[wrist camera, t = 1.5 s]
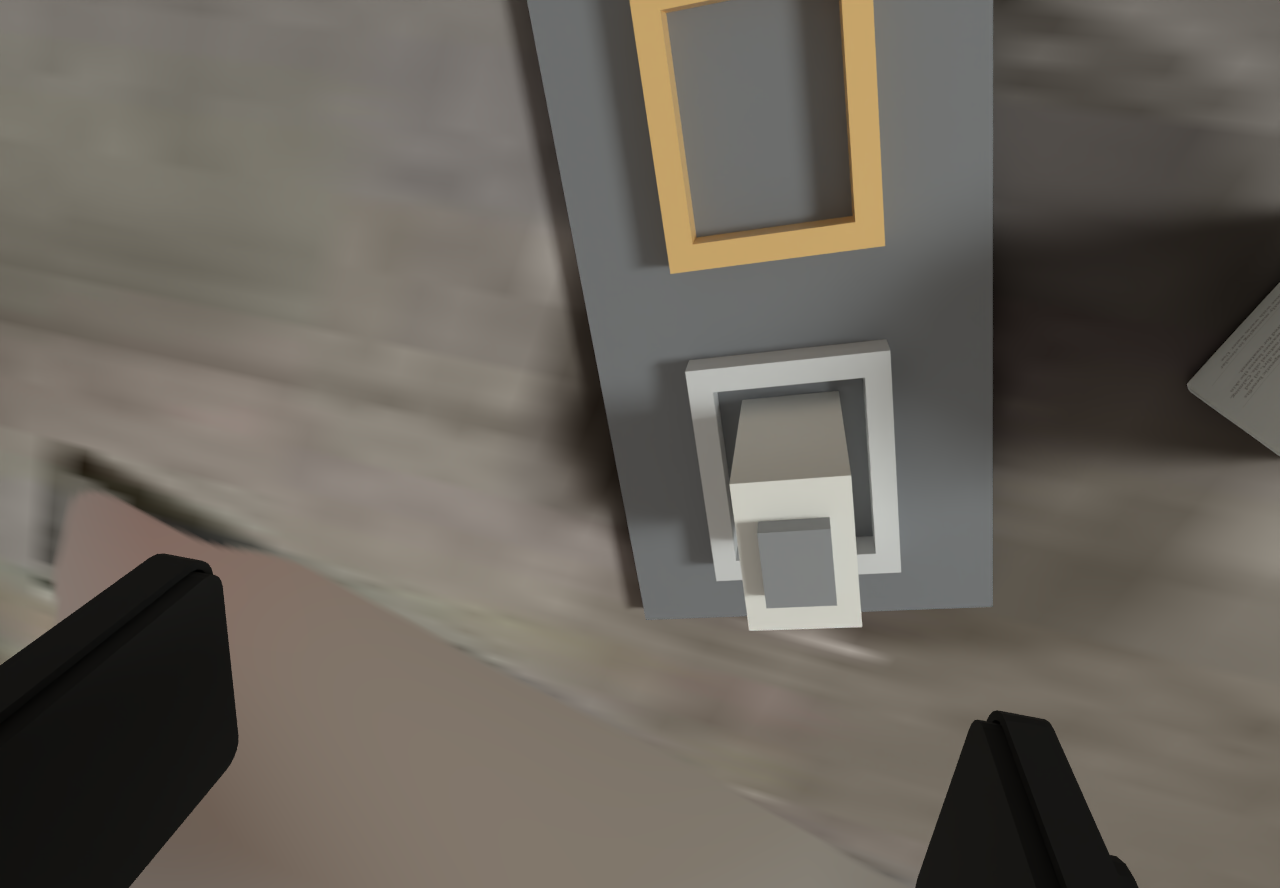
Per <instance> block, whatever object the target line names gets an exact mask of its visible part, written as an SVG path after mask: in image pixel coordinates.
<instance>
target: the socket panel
mask: <svg viewBox="0 0 1280 888" xmlns="http://www.w3.org/2000/svg"><path fill="white" fill-rule="evenodd" d="M527 3H528V9H529V14H530V19H531V24H532V29H533V35H534V40H535V45H536V50H537V56H538V61H539V66H540V71H541V76H542V82H543V87H544V92H545V97H546V102H547V108H548V113H549V118H550V123H551V128H552V134H553V139H554V144H555V149H556V154H557V160H558V165H559V170H560V175H561V180H562V186H563V191H564V196H565V201H566V206H567V212H568V217H569V222H570V227H571V232H572V238H573V243H574V248H575V253H576V258H577V264H578V269H579V274H580V279H581V285H582V290H583V295H584V300H585V305H586V311H587V316H588V321H589V326H590V331H591V337H592V342H593V347H594V352H595V357H596V363H597V368H598V373H599V378H600V383H601V389H602V394H603V399H604V404H605V409H606V415H607V420H608V425H609V430H610V435H611V441H612V446H613V451H614V456H615V461H616V467H617V472H618V477H619V482H620V488H621V493H622V498H623V503H624V508H625V514H626V519H627V524H628V529H629V534H630V540H631V545H632V550H633V555H634V560H635V566H636V571H637V576H638V581H639V586H640V592H641V597H642V602H643V607H644V612H645V618H646V620H654V619H681V618H707V617H734V616H747V610H746V603H745V596H744V588H743V581H742V574H741V566H740V559H739V551H738V544H737V537H736V529H735V522H734V514H733V507H732V500H731V492H730V485H729V484H730V477H731V470H732V464H733V457H734V451H735V444H736V437H737V431H738V424H739V418H740V411H741V404H742V400H747V399H757V398H768V397H778V396H789V395H799V394H810V393H820V392H831V391H839V397H840V404H841V410H842V417H843V424H844V430H845V437H846V444H847V451H848V457H849V464H850V471H851V479H852V493H853V507H854V521H855V535H856V549H857V562H858V576H859V590H860V604H861V612H866V611H892V610H919V609H945V608H972V607H993V0H527Z"/></svg>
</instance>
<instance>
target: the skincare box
mask: <svg viewBox="0 0 1280 888" xmlns="http://www.w3.org/2000/svg"><path fill="white" fill-rule="evenodd" d="M1187 387H1188V390H1189V391H1190V392H1191V393H1193V394H1194V395H1195V396H1197V397H1198V398H1199V399H1201V400H1202V401H1203V402H1205V403H1206V404H1208V405H1209V406H1210V407H1212V408H1213V409H1214V410H1216V411H1217V412H1219V413H1220V414H1221V415H1223V416H1224V417H1226V418H1227V419H1228V420H1230V421H1231V422H1233V423H1234V424H1236V425H1237V426H1238V427H1240V428H1241V429H1243V430H1244V431H1245V432H1247V433H1248V434H1249V435H1251V436H1252V437H1254V438H1255V439H1256V440H1258V441H1259V442H1261V443H1262V444H1263V445H1265V446H1266V447H1267V448H1269V449H1270V450H1272V451H1273V452H1274V453H1276V454H1277V455H1278V456H1280V282H1279V283H1278V285H1277V286H1276V287H1275V288H1274V289H1273V290H1272V291H1271V292H1270V293H1269V294H1268V295H1267V297H1266V298H1265V299H1264V300H1263V301H1262V302H1261V303H1260V304H1259V305H1258V306H1257V307H1256V308H1255V310H1254V311H1253V312H1252V313H1251V314H1250V315H1249V316H1248V317H1247V318H1246V319H1245V320H1244V321H1243V323H1242V324H1241V325H1240V326H1239V327H1238V328H1237V329H1236V330H1235V331H1234V332H1233V334H1232V335H1231V336H1230V337H1229V338H1228V339H1227V340H1226V341H1225V342H1224V343H1223V345H1222V346H1221V347H1220V348H1219V349H1218V350H1217V351H1216V352H1215V353H1214V354H1213V356H1212V357H1211V358H1210V359H1209V360H1208V361H1207V362H1206V363H1205V364H1204V365H1203V366H1202V367H1201V369H1200V370H1199V371H1198V372H1197V373H1196V374H1195V375H1194V376H1193V377H1192V379H1191V380H1190V381H1189V382H1188V383H1187Z"/></svg>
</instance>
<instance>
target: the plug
mask: <svg viewBox="0 0 1280 888" xmlns="http://www.w3.org/2000/svg"><path fill="white" fill-rule="evenodd" d="M729 485H730V492H731V500H732V507H733V514H734V522H735V529H736V537H737V544H738V551H739V559H740V566H741V574H742V581H743V588H744V596H745V603H746V610H747V618H748V625H749V631H757V630H787V629H816V628H846V627H862V618H861V604H860V590H859V576H858V562H857V549H856V535H855V521H854V507H853V493H852V479H851V471H850V464H849V457H848V451H847V444H846V437H845V430H844V424H843V417H842V410H841V404H840V397H839V391H831V392H820V393H810V394H799V395H789V396H778V397H768V398H757V399H747V400H742V404H741V411H740V418H739V424H738V431H737V437H736V444H735V451H734V457H733V464H732V470H731V477H730V484H729Z"/></svg>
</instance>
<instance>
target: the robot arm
mask: <svg viewBox="0 0 1280 888" xmlns="http://www.w3.org/2000/svg"><path fill="white" fill-rule="evenodd" d="M237 746H238V728H237V718H236V709H235V699H234V690H233V680H232V671H231V661H230V652H229V642H228V634H227V624H226V614H225V604H224V595H223V586H222V582H221V580H220V578H219V577H218V576H215V575H213V572H212V569H211V567H210V566H209V564H208V563H206V562H204V561H200V560H195V559H190V558H185V557H179V556H174V555H169V554H156V555H154V556H152V557H150V558H149V559H147V560H146V561H144V562H143V563H142V564H140V565H139V566H138V567H136V568H135V569H133V570H132V571H131V572H129V573H128V574H126V575H125V576H124V577H122V578H121V579H119V580H118V581H117V582H115V583H114V584H113V585H111V586H110V587H108V588H107V589H106V590H104V591H103V592H101V593H100V594H99V595H97V596H96V597H94V598H93V599H92V600H90V601H89V602H88V603H86V604H85V605H83V606H82V607H81V608H79V609H78V610H76V611H75V612H74V613H73V614H71V615H70V616H68V617H67V618H65V619H64V620H63V621H61V622H60V623H58V624H57V625H56V626H54V627H53V628H51V629H50V630H49V631H47V632H46V633H45V634H43V635H42V636H40V637H39V638H38V639H36V640H35V641H33V642H32V643H31V644H29V645H28V646H27V647H25V648H24V649H22V650H21V651H20V652H18V653H17V654H15V655H14V656H13V657H11V658H10V659H8V660H7V661H6V662H4V663H3V664H2V665H0V888H129V887H130V886H131V884H132V883H133V882H134V881H135V880H136V878H137V877H138V876H139V875H140V873H141V872H142V871H143V870H144V869H145V867H146V866H147V865H148V864H149V863H150V861H151V860H152V859H153V858H154V857H155V855H156V854H157V853H158V852H159V851H160V849H161V848H162V847H163V846H164V845H165V843H166V842H167V841H168V840H169V838H170V837H171V836H172V835H173V834H174V832H175V831H176V830H177V829H178V827H179V826H180V825H181V824H182V823H183V822H184V820H185V819H186V818H187V817H188V816H189V814H190V813H191V812H192V811H193V809H194V808H195V807H196V806H197V805H198V804H199V802H200V801H201V800H202V799H203V797H204V796H205V795H206V794H207V793H208V791H209V790H210V789H211V788H212V787H213V785H214V784H215V783H216V782H217V780H218V779H219V778H220V777H221V776H222V774H223V773H224V772H225V771H226V770H227V768H228V767H229V765H230V764H231V762H232V760H233V758H234V756H235V753H236V750H237ZM916 888H1138V886H1137V883H1136V881H1135V879H1134V877H1133V876H1132V874H1131V872H1130V871H1129V869H1128V867H1127V866H1126V864H1125V863H1124V862H1122V861H1121V860H1120V859H1119V858H1118V857H1117V856H1112V855H1109V853H1108V850H1107V848H1106V846H1105V844H1104V841H1103V839H1102V837H1101V835H1100V832H1099V830H1098V828H1097V826H1096V823H1095V821H1094V819H1093V817H1092V814H1091V812H1090V810H1089V808H1088V805H1087V803H1086V801H1085V799H1084V796H1083V794H1082V792H1081V790H1080V787H1079V785H1078V783H1077V781H1076V778H1075V776H1074V774H1073V772H1072V769H1071V767H1070V765H1069V762H1068V760H1067V758H1066V756H1065V753H1064V751H1063V749H1062V747H1061V744H1060V742H1059V740H1058V738H1057V735H1056V733H1055V731H1054V729H1053V727H1052V726H1051V724H1050V722H1048V721H1047V720H1045V719H1040V718H1035V717H1030V716H1024V715H1019V714H1014V713H1008V712H1003V711H998V710H997V711H993V712H992V713H991V714H990V715H989V717H988V719H987V721H982V720H974V722H973V723H972V724H971V726H970V729H969V731H968V734H967V737H966V740H965V743H964V746H963V749H962V751H961V754H960V757H959V760H958V763H957V766H956V769H955V772H954V775H953V777H952V780H951V783H950V786H949V789H948V792H947V795H946V798H945V801H944V803H943V806H942V809H941V812H940V815H939V818H938V821H937V824H936V827H935V829H934V832H933V835H932V838H931V841H930V844H929V847H928V850H927V853H926V856H925V858H924V861H923V864H922V867H921V870H920V873H919V876H918V879H917V883H916Z"/></svg>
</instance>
